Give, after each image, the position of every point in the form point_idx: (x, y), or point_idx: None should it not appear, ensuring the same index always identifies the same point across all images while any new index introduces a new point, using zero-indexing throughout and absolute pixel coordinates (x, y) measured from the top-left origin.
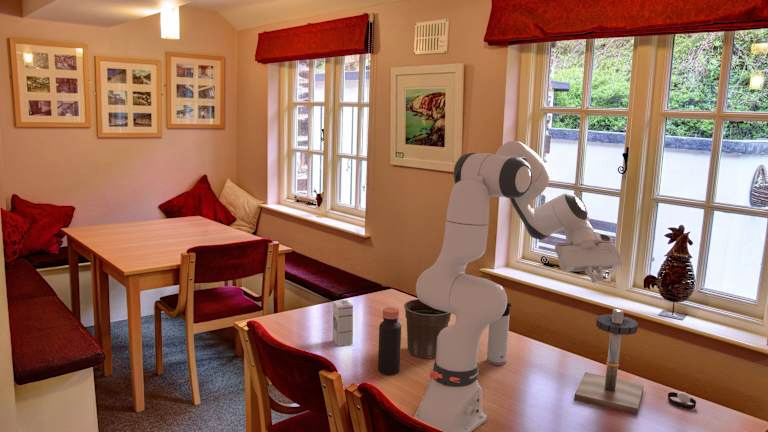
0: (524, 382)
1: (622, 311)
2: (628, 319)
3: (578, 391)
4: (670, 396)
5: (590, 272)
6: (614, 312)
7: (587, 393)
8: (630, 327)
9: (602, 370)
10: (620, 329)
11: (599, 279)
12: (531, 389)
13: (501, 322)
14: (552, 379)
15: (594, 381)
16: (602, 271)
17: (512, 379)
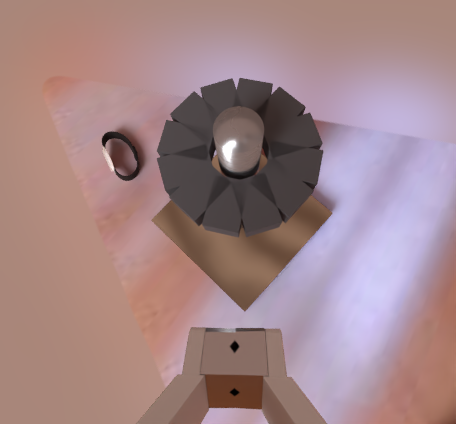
0: (404, 320)
1: (222, 120)
2: (178, 157)
3: (318, 220)
4: (125, 179)
5: (318, 416)
6: (262, 126)
7: (303, 208)
8: (231, 82)
9: (175, 341)
10: (271, 90)
11: (233, 331)
12: (401, 282)
13: None
14: (327, 320)
15: (253, 258)
16: (152, 411)
17: (429, 343)
